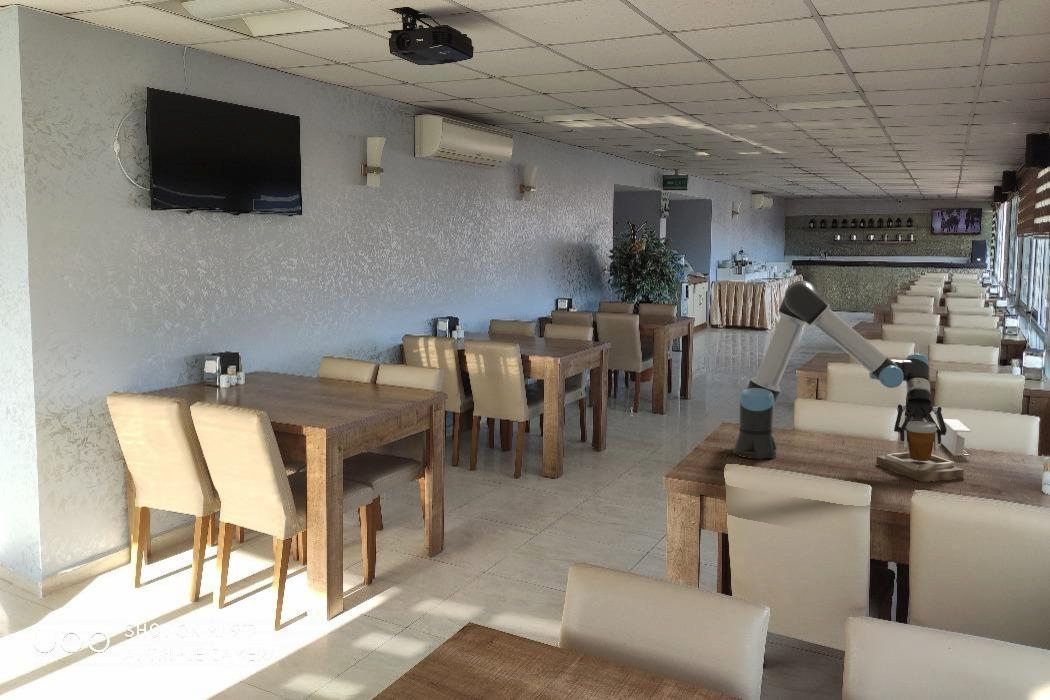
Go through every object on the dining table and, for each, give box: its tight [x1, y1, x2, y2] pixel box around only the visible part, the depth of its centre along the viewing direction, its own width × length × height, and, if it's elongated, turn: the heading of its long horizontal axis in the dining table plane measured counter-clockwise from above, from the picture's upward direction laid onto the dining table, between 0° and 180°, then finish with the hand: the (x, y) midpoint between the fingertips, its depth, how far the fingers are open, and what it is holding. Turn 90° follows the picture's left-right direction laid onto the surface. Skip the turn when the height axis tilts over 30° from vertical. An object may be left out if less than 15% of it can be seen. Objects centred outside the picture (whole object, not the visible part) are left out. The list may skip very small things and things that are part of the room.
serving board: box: [875, 451, 965, 483], centre depth 277 cm, size 16×22×4 cm
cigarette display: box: [940, 418, 972, 456], centre depth 306 cm, size 20×6×9 cm, turn 165°
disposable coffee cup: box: [906, 420, 937, 461], centre depth 276 cm, size 10×10×12 cm
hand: (920, 450), depth 273 cm, fingers closed on disposable coffee cup, 9 cm apart
